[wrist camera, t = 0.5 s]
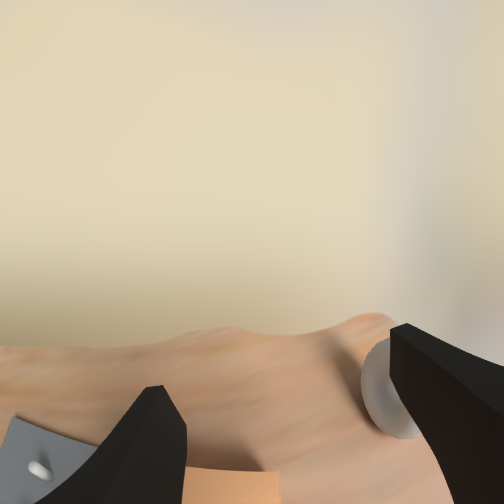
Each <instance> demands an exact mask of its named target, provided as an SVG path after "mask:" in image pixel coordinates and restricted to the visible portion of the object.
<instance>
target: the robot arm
mask: <svg viewBox="0 0 504 504" xmlns="http://www.w3.org/2000/svg"><path fill="white" fill-rule="evenodd" d="M389 376H390V379H391V381H392V383H393V385H394V387H395V390H396V392H397V394H398V396H399V398H400V400H401V402H402V403H403V405H404V406H405V408H406V409H407V411H408V413H409V414H410V416H411V417H412V419H413V421H414V422H415V424H416V425H417V427H418V428H419V430H420V431H421V433H422V435H423V436H424V438H425V439H426V441H427V443H428V444H429V446H430V447H431V449H432V451H433V453H434V455H435V457H436V459H437V461H438V463H439V466H440V468H441V470H442V472H443V475H444V477H445V480H446V482H447V485H448V487H449V490H450V493H451V496H452V498H453V501H454V504H504V366H500V365H498V364H495V363H492V362H489V361H487V360H484V359H482V358H479V357H477V356H474V355H472V354H470V353H467V352H465V351H463V350H461V349H459V348H457V347H454V346H452V345H450V344H448V343H446V342H444V341H442V340H440V339H438V338H436V337H434V336H432V335H430V334H428V333H426V332H424V331H422V330H420V329H418V328H416V327H414V326H412V325H410V324H408V323H405V324H403V325H400V326H397V327H395V328H392V329H390V368H389ZM186 458H187V427H186V424H185V422H184V421H183V419H182V417H181V416H180V414H179V412H178V411H177V409H176V407H175V406H174V404H173V402H172V400H171V399H170V397H169V395H168V393H167V392H166V390H165V388H164V386H163V385H160V386H153V387H146V388H145V389H144V390H143V391H142V393H141V394H140V395H139V396H138V398H137V399H136V400H135V402H134V403H133V404H132V406H131V407H130V408H129V410H128V411H127V412H126V414H125V415H124V416H123V418H122V419H121V420H120V421H119V423H118V424H117V425H116V427H115V428H114V429H113V430H112V432H111V433H110V434H109V435H108V437H107V438H106V439H105V440H104V441H103V442H102V444H101V445H100V446H99V447H98V448H97V449H96V451H95V452H94V453H93V454H92V455H91V456H90V457H89V459H88V460H87V461H86V462H85V463H84V464H83V465H82V466H81V467H80V468H79V469H78V470H76V471H75V472H74V473H73V474H72V475H71V476H70V477H69V478H68V479H67V480H65V481H64V482H63V483H62V484H60V485H59V486H58V487H56V488H55V489H54V490H53V491H51V492H50V493H49V494H47V495H46V496H45V497H43V498H42V499H40V500H38V501H37V502H35V503H34V504H182V495H183V486H184V477H185V467H186Z"/></svg>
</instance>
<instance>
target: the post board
mask: <svg viewBox="0 0 504 504" xmlns="http://www.w3.org/2000/svg"><path fill="white" fill-rule="evenodd" d="M97 448H98V447H95V446H92V445H88V444H85V443H82V442H79V441H75V440H72V439H69V438H66V437H63V436H61V435H58V434H55V433H52V432H49V431H47V430H44V429H42V428H39V427H37V426H34V425H32V424H29V423H27V422H25V421H22V420H20V419H18V418H15V417H12V420H11V423H10V425H9V428H8V431H7V433H6V436H5V439H4V442H3V445H2V448H1V451H0V504H34V503H35V502H37V501H38V500H40V499H42V498H43V497H45V496H46V495H47V494H49V493H50V492H51V491H53V490H54V489H55V488H56V487H58V486H59V485H60V484H62V483H63V482H64V481H65V480H67V479H68V478H69V477H70V476H71V475H72V474H73V473H74V472H75V471H76V470H78V469H79V468H80V467H81V466H82V465H83V464H84V463H85V462H86V461H87V460H88V459H89V457H90V456H91V455H92V454H93V453H94V452H95V451H96V449H97Z"/></svg>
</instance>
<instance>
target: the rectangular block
mask: <svg viewBox="0 0 504 504" xmlns="http://www.w3.org/2000/svg"><path fill="white" fill-rule="evenodd" d="M182 504H281V498H280V472H248V471H228V470H214V469H204V468H195V467H185V477H184V486H183V495H182Z"/></svg>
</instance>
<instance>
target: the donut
mask: <svg viewBox="0 0 504 504" xmlns="http://www.w3.org/2000/svg"><path fill="white" fill-rule="evenodd" d="M389 368H390V337H389V338H387V339H385V340H383V341H380V342H379V343H377V344H376V345H375V346H374V347H373V348H372V350H371V351H370V352H369V353H368V354H367V356H366V359H365V361H364V364H363V367H362V372H361V392H362V396H363V400H364V404H365V407H366V409H367V411H368V413H369V415H370V417H371V419H372V420H373V421H374V423H375V424H376V425H377V427H379V428H380V429H381V430H382V431H383V432H384V433H386V434H388V435H390V436H392V437H395V438H397V439H413V438H416V437H418V436H420V435H422V433H421V431H420V430H419V428H418V427H417V425H416V424H415V422H414V421H413V419H412V417H411V416H410V414H409V413H408V411H407V409H406V408H405V406H404V405H403V403H402V402H401V400H400V398H399V397H398V395H397V393H396V390H395V387H394V385H393V383H392V381H391V379H390V376H389Z"/></svg>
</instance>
